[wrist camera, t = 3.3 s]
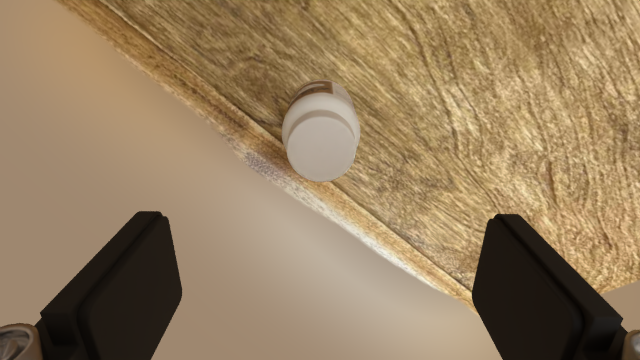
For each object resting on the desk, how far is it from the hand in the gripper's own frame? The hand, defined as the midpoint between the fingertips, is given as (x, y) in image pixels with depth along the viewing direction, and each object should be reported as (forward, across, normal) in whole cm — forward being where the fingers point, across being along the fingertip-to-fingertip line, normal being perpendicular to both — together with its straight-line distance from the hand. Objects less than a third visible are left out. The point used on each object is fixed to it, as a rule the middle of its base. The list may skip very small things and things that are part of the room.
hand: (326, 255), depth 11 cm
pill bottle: (+16, 0, -1) cm, 16 cm away
